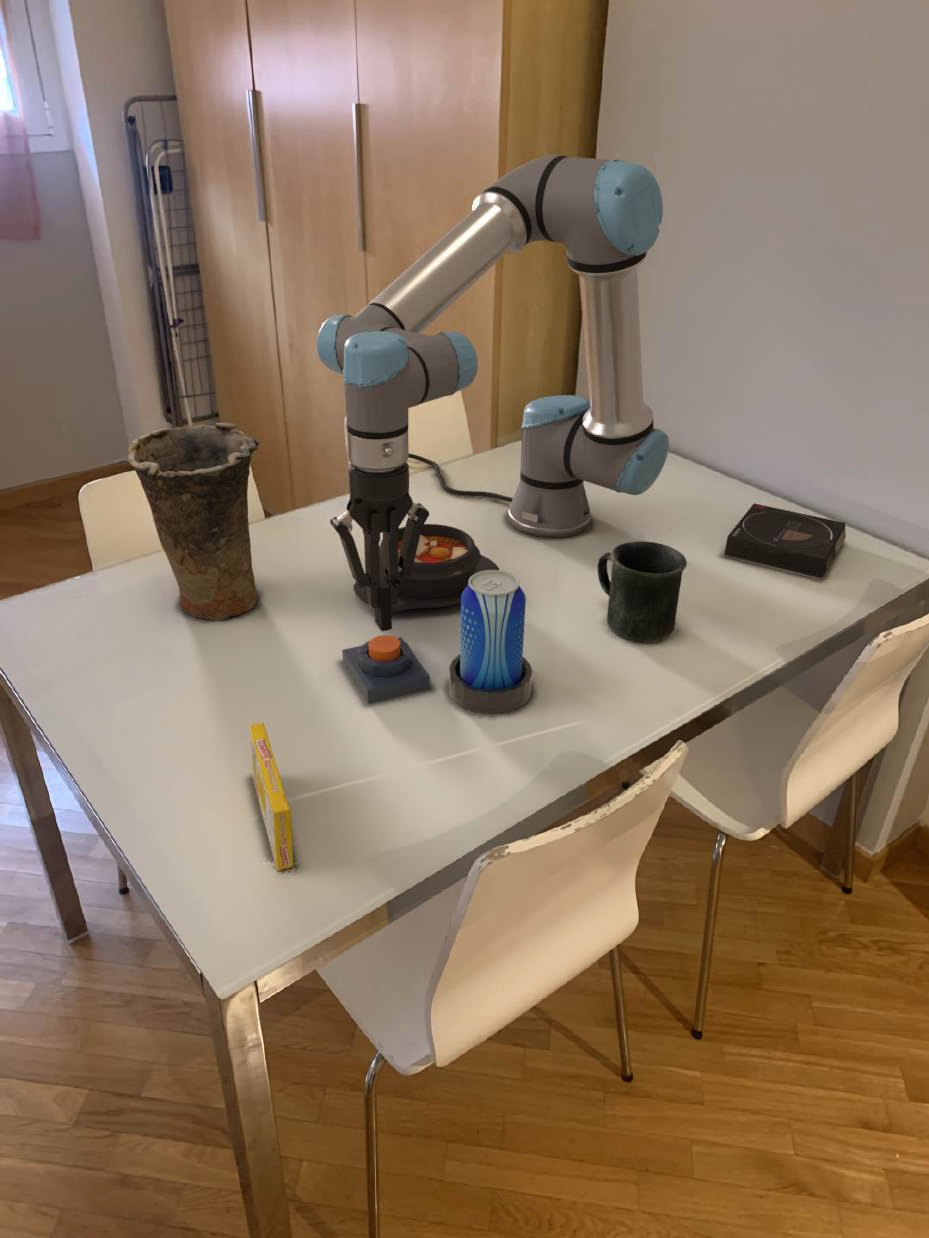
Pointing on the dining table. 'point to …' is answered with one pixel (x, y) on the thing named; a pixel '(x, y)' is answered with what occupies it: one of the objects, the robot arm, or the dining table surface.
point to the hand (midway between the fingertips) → (383, 625)
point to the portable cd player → (786, 541)
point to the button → (384, 648)
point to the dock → (489, 692)
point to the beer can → (492, 630)
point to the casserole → (436, 568)
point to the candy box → (271, 797)
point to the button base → (385, 673)
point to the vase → (201, 513)
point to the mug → (642, 589)
